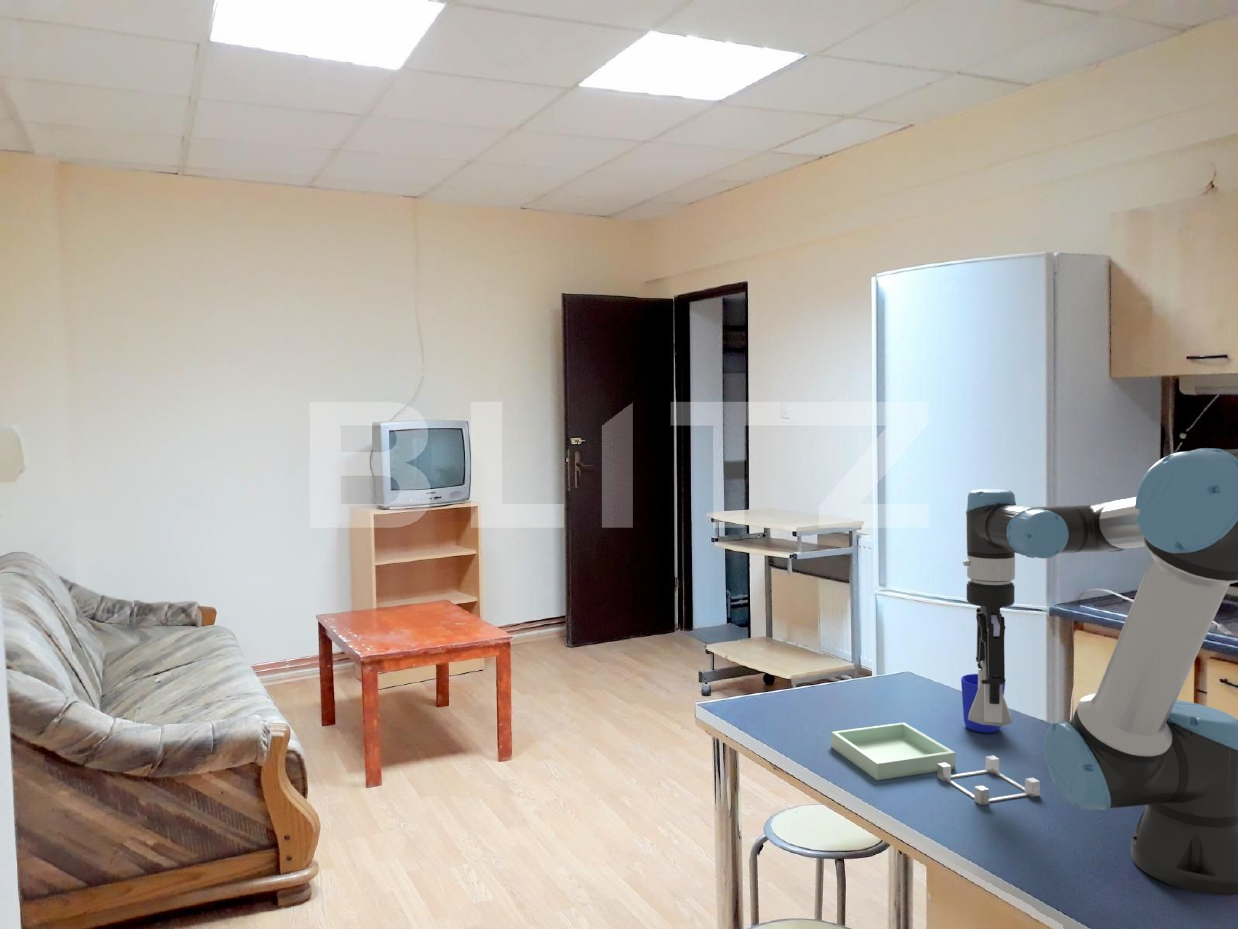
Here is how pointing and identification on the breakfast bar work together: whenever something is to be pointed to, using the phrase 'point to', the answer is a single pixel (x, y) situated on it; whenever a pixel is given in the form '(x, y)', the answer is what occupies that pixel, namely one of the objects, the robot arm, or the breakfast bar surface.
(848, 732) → the bin
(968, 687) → the mug
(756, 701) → the breakfast bar surface
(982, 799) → the socket
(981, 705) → the flask
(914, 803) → the breakfast bar surface
